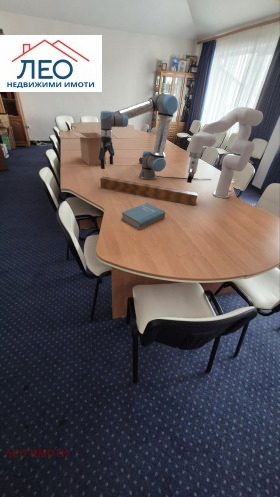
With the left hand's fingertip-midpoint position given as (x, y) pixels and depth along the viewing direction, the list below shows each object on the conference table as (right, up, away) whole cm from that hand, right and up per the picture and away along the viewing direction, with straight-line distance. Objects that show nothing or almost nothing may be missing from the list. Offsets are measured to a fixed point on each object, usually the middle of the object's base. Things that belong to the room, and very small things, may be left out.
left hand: (107, 166), depth 170 cm
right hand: (+61, -15, -15) cm, 64 cm away
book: (+28, -45, -30) cm, 60 cm away
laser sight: (+35, +28, +70) cm, 83 cm away
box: (-25, +30, +67) cm, 77 cm away
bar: (+30, -22, +2) cm, 37 cm away
